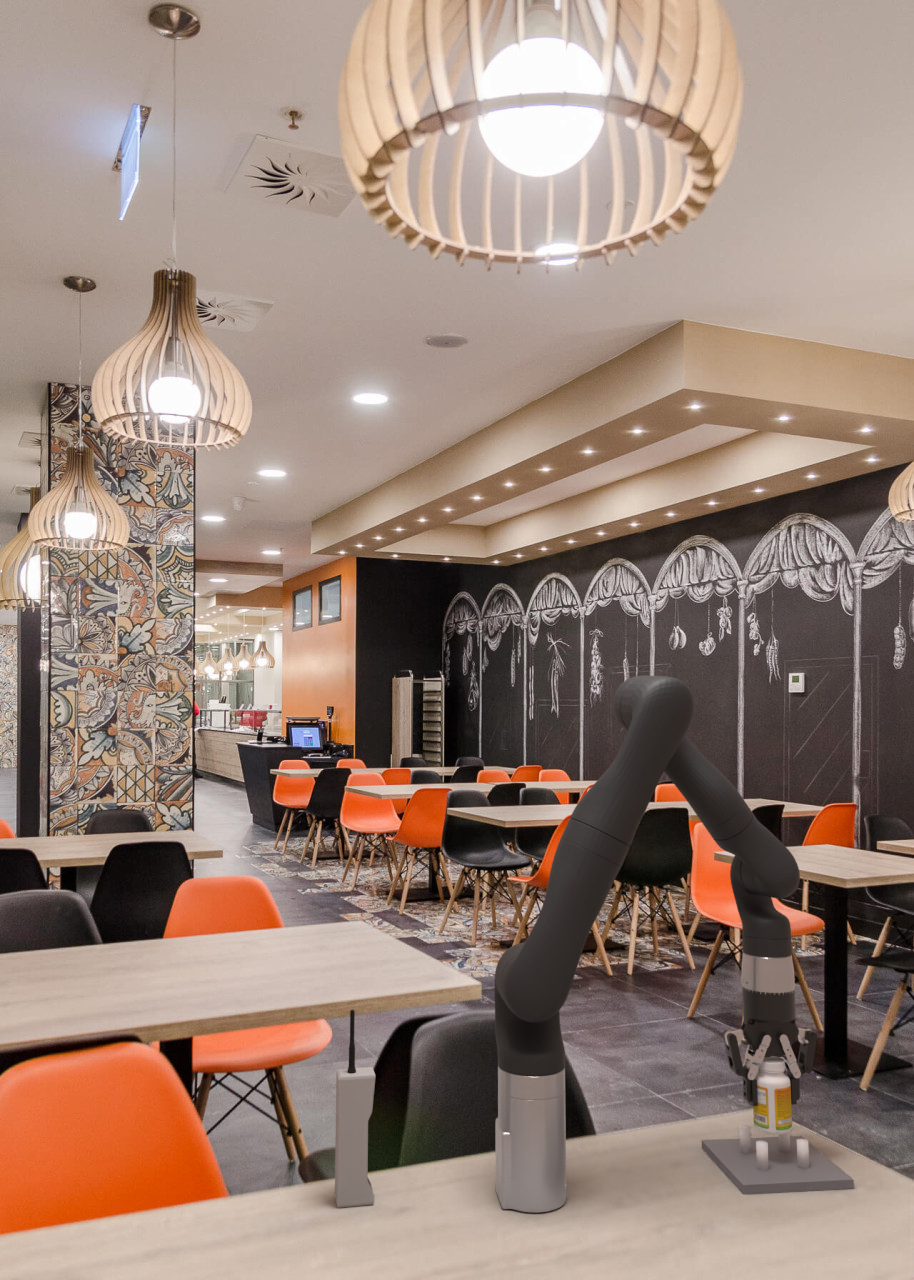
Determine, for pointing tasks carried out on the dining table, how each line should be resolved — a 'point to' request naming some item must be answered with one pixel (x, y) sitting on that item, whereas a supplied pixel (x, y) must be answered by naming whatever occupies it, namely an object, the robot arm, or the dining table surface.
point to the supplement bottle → (773, 1098)
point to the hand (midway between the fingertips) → (771, 1103)
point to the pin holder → (775, 1164)
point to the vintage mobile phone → (353, 1130)
